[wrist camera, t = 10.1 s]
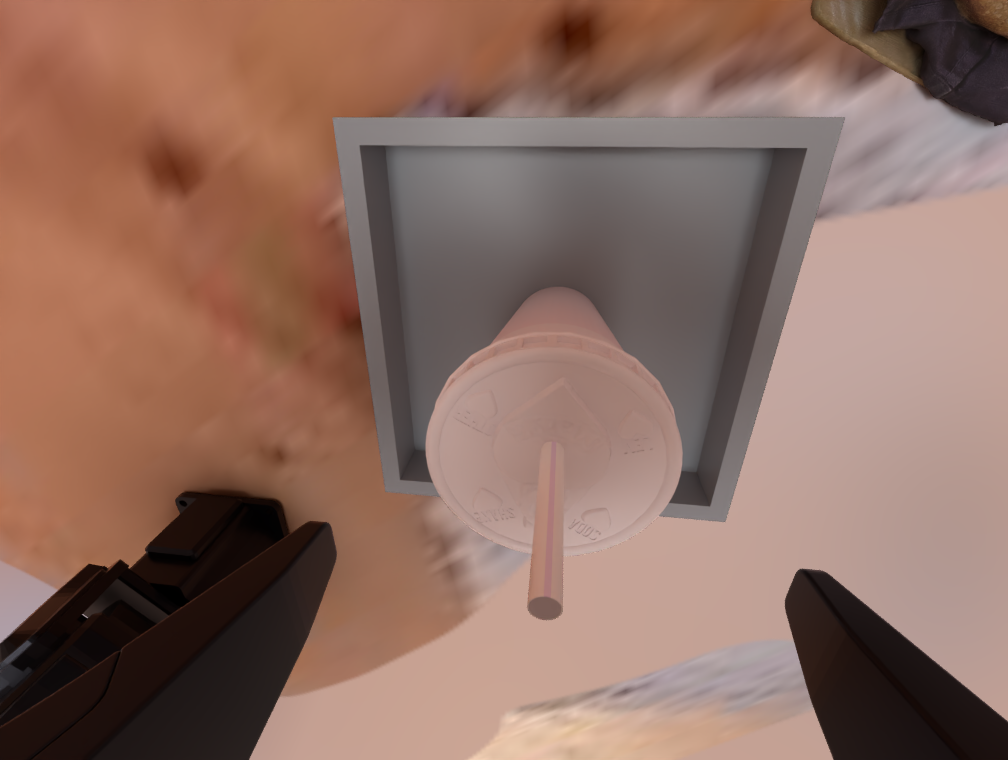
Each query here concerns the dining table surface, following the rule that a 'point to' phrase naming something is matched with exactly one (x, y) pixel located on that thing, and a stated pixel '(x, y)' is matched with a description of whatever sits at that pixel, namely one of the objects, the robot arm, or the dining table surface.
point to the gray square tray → (583, 259)
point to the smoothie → (554, 440)
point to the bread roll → (933, 45)
